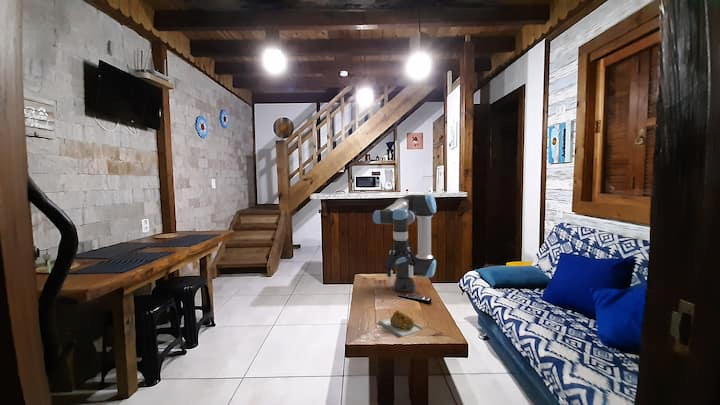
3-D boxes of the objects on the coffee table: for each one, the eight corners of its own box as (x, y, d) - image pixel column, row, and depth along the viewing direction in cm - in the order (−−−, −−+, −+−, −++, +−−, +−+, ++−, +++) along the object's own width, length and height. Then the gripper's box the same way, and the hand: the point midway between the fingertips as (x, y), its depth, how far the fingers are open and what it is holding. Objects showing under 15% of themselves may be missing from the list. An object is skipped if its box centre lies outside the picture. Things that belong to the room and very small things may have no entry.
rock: (402, 329, 158) (415, 317, 157) (404, 340, 150) (419, 326, 149) (386, 316, 157) (400, 303, 155) (388, 326, 149) (402, 312, 147)
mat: (399, 316, 166) (399, 314, 166) (422, 329, 151) (422, 327, 151) (378, 322, 159) (378, 320, 159) (400, 337, 144) (400, 334, 144)
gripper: (413, 235, 166) (414, 273, 168) (376, 241, 153) (377, 282, 154) (423, 237, 160) (423, 277, 161) (385, 243, 146) (386, 287, 148)
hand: (400, 280), depth 158 cm, fingers open, 13 cm apart
